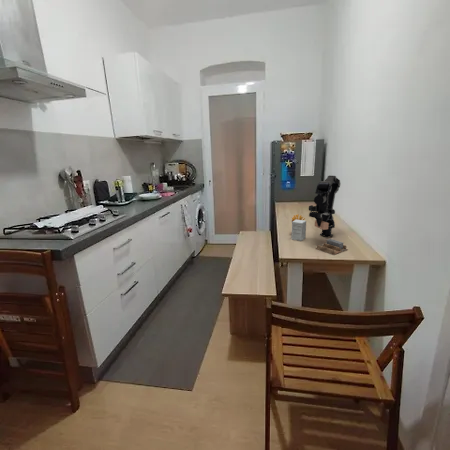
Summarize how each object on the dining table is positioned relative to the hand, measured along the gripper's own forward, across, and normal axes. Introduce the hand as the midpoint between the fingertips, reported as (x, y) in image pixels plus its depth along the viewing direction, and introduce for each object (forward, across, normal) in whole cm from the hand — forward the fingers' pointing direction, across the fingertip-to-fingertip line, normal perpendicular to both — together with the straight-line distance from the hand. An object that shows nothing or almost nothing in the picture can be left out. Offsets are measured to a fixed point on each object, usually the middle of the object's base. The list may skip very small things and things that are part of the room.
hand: (321, 226), depth 166 cm
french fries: (+11, -1, -20) cm, 23 cm away
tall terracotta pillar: (+1, 0, 0) cm, 1 cm away
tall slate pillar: (+10, +3, +12) cm, 17 cm away
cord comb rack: (+11, +6, +12) cm, 18 cm away
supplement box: (+11, +6, -13) cm, 18 cm away
